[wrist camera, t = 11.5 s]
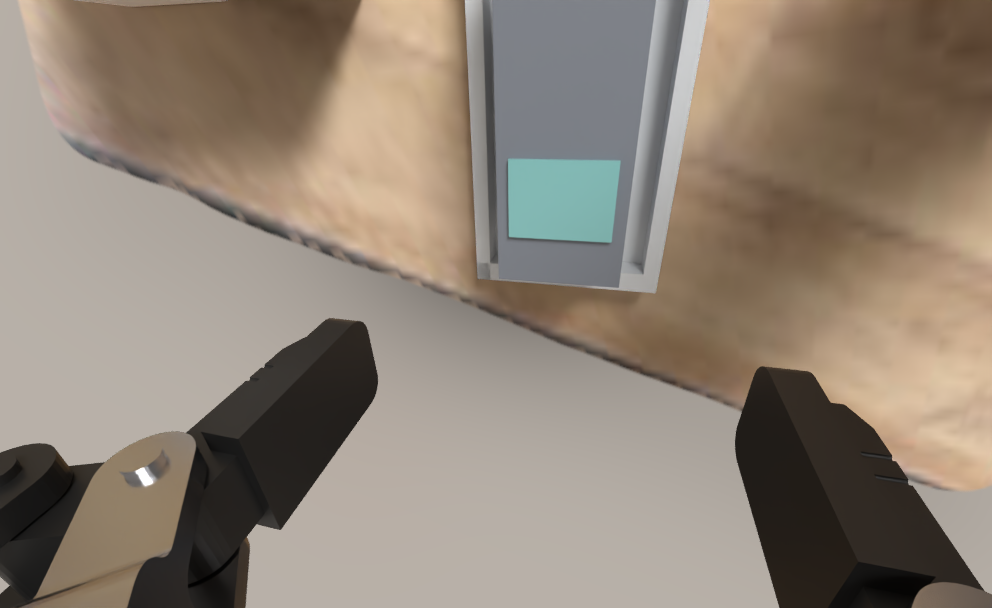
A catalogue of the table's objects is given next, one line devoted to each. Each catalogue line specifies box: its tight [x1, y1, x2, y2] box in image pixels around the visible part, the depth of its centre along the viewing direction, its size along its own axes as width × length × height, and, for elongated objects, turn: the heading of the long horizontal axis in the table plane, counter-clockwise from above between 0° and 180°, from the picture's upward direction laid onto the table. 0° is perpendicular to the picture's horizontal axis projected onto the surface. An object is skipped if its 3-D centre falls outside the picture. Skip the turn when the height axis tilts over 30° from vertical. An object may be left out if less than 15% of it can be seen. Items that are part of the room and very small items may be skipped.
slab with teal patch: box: [492, 0, 656, 288], centre depth 17 cm, size 5×13×6 cm, turn 1°
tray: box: [465, 0, 710, 293], centre depth 19 cm, size 10×18×2 cm, turn 0°
